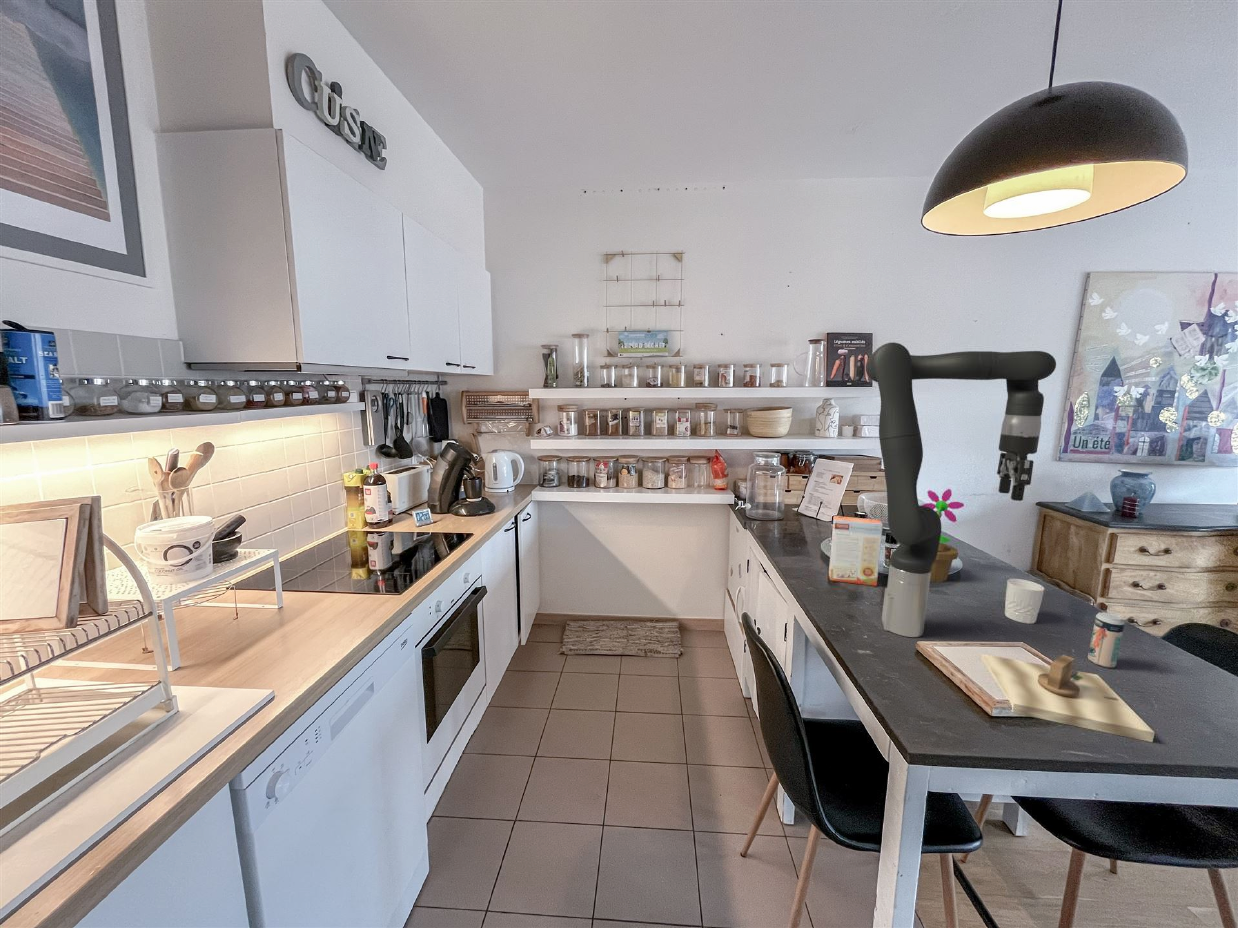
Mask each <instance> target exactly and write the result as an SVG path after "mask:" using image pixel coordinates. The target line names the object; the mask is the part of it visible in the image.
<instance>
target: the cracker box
mask: <svg viewBox="0 0 1238 928" xmlns="http://www.w3.org/2000/svg"><path fill="white" fill-rule="evenodd" d="M883 526H884V524H883V523H882V521H881V520H880V519H874V518H865V517H864V518H861V517H852V516H841V515H840V516H838V515H834V516H833V520H832V531H831V532H832V533H831V543H830V544H831V545H830V553H829V555H830V557H829V567H828V577H829V580H830V581H832V582H841V583H850V584H858V585H866V586H874V587H877V586H878V585H877V584H878V577H879V567H880V559H881V558H880V557H881V556H880V555H881V547H882V537H883V528H884V527H883Z"/></svg>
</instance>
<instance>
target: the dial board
mask: <svg viewBox="0 0 1238 928" xmlns="http://www.w3.org/2000/svg"><path fill="white" fill-rule="evenodd" d="M981 659H982V660H983V662H984V663H985V665H986V667H987V669H988V670H989V672H990V673H991V675H992V676H993V678H994V679H995V681H996V682H997V683H998V685H999V687H1000V688H1001V689H1002V691H1003V693H1004V695H1005V696H1006V698H1007V699H1008V700H1009V701H1010V703H1011V705H1012V710H1010V711H1011V713H1013V714H1018V715H1022V716H1027V717H1031V718H1035V719H1040V720H1045V721H1049V722H1055V723H1059V724H1065V725H1068V726H1069V725H1070V726H1074V727H1079V728H1082V729H1083V728H1084V729H1089V730H1093V731H1097V732H1102V733H1105V734H1112V735H1116V736H1122V737H1126V738H1130V739H1135V740H1141V741H1145V742H1150V743H1153V741H1154V737H1155V734H1156V733H1155V731H1154V730H1153V729H1152V728H1151V727H1150V726H1149V725H1148V724H1147V723H1146V722H1145V721H1144V720H1143V719H1142V718H1141V717H1140V716H1139V715H1138V713H1136V712H1135V711H1134V710H1133V709H1132V708H1131V707H1130V706H1129V705H1128V704H1127V703H1126V702H1125V701H1124V700H1123V699H1122V698H1121V697H1120V696H1119V695H1118V694H1117V693H1116V692H1115V691H1114V690H1113V688H1111V686H1109V685H1108V684H1107V683H1106V682H1105V680H1103V679H1102V678H1101V677H1100V676H1099V675H1098V674H1095V673H1089V672H1085V671H1084V672H1083V671H1079V670H1077V671H1078V674H1077V675H1075V676H1074V677H1072V678H1071V679H1070V681H1072V682H1073V683H1075V684H1076V685H1077V686H1078V687H1079V688H1080V692H1079V695H1078V696H1077V697H1067V696H1062V695H1059V694H1056V693H1053V692H1051V691H1049V690H1047V689H1045V688H1044V687H1042V686H1041V685H1040V684H1039V683H1038V676H1039V675H1040V674H1049V672H1050V666H1051V665H1045V664H1042V663H1041V664H1040V663H1034V662H1029V661H1023V660H1018V659H1011V658H1006V657H1001V656H995V655H990V654H984V653H982V654H981ZM1073 670H1074V669H1072V671H1073Z"/></svg>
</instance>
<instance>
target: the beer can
mask: <svg viewBox="0 0 1238 928" xmlns="http://www.w3.org/2000/svg"><path fill="white" fill-rule="evenodd" d="M1093 623H1094V624H1093V628H1092V634H1091V638H1090V643H1089V648H1088V653H1087V659H1088V660H1089V661H1090V662H1092V663H1093V664H1095V665H1096V666H1099V667H1103V668H1115V667H1116V666H1117V662H1118V657H1119V653H1120V648H1121V642H1122V638H1123V633H1124V629H1125V625H1126V624H1125V621H1124V619H1123V616H1120V615H1118V614H1115V613H1113V612H1107V611H1098V613H1097V614H1096V615H1095V618H1094V622H1093Z"/></svg>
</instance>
